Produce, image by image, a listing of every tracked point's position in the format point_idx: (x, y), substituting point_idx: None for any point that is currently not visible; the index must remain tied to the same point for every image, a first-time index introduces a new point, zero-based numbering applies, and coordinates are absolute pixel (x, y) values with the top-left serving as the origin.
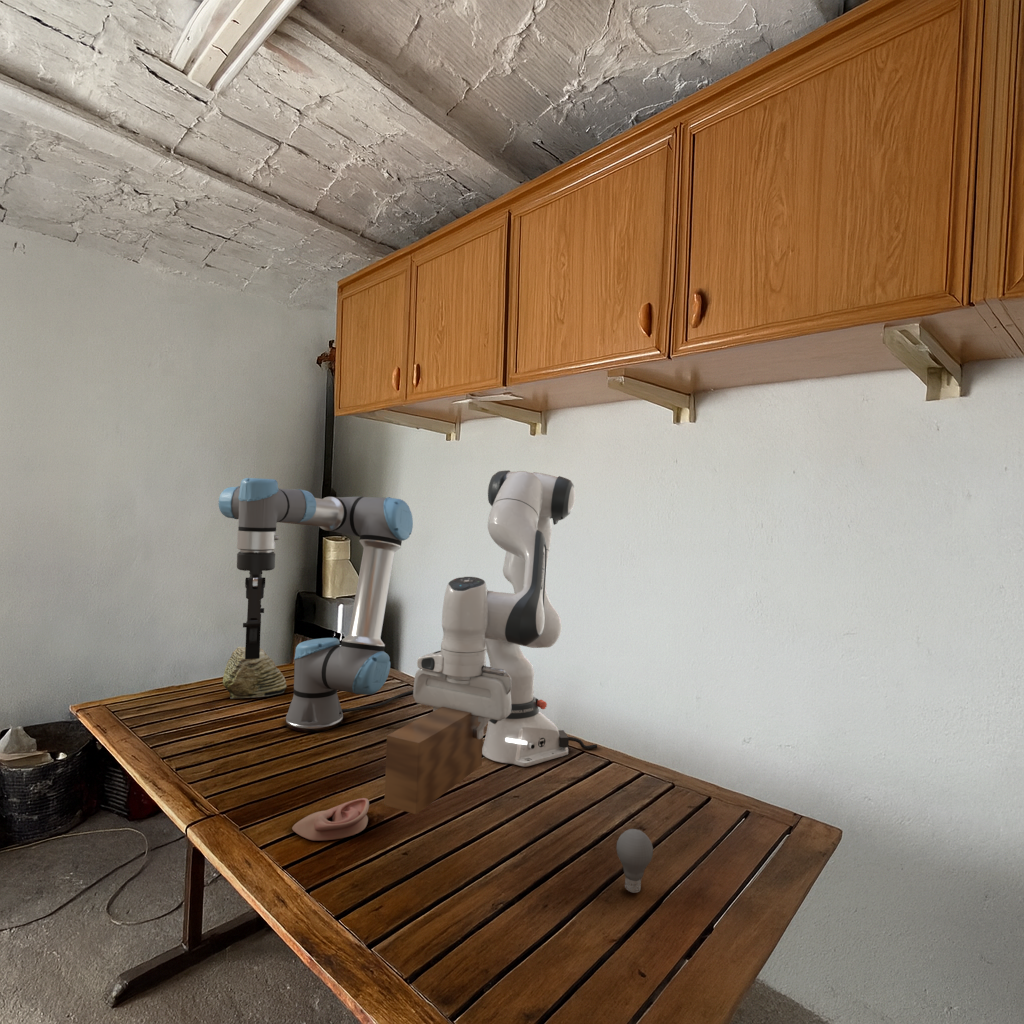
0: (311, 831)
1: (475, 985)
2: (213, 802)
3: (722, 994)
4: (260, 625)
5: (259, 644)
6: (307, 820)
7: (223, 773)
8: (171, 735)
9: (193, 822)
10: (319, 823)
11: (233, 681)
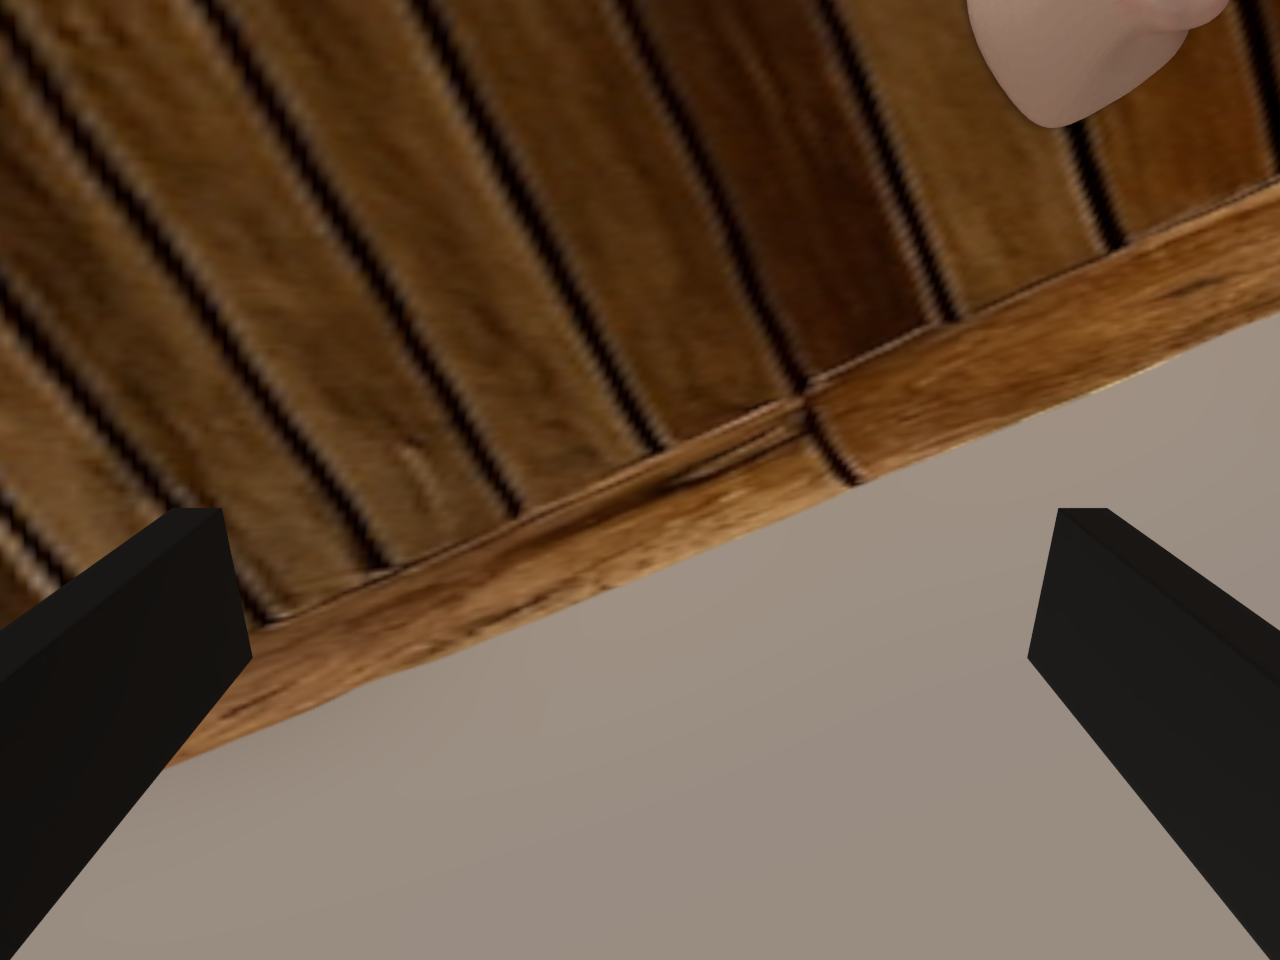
0: (1157, 48)
1: None
2: (706, 422)
3: None
4: (35, 659)
5: (1241, 610)
6: (1092, 60)
7: (449, 402)
8: None
9: (838, 472)
10: (1208, 7)
11: None
